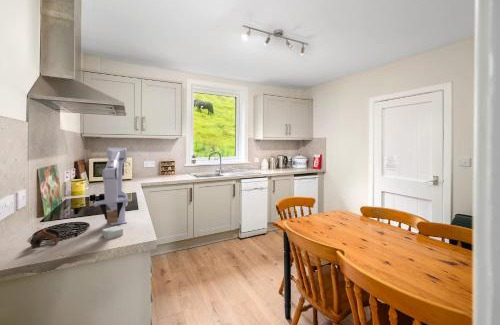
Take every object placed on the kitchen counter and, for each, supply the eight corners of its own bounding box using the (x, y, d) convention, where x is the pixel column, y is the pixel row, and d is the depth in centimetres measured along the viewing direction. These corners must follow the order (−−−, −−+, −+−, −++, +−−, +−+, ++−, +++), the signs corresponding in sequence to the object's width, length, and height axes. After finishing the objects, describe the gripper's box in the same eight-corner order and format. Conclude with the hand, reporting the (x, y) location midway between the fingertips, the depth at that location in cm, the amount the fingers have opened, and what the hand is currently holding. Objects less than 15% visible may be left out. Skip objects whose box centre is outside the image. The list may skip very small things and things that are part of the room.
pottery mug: (39, 242, 111) (49, 226, 113) (57, 251, 112) (67, 235, 113) (17, 247, 100) (30, 228, 101) (38, 257, 100) (50, 238, 102)
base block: (102, 236, 119) (102, 229, 119) (117, 232, 125) (117, 225, 125) (108, 239, 115) (107, 232, 115) (123, 235, 121) (122, 228, 120)
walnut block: (106, 221, 120) (106, 210, 119) (116, 219, 122) (116, 209, 122) (107, 223, 116) (106, 212, 116) (117, 222, 119) (117, 211, 118)
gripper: (93, 194, 111) (94, 222, 112) (128, 191, 119) (128, 218, 120) (93, 192, 117) (94, 218, 118) (126, 189, 124) (127, 214, 126)
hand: (112, 218), depth 119 cm, fingers closed on walnut block, 4 cm apart
